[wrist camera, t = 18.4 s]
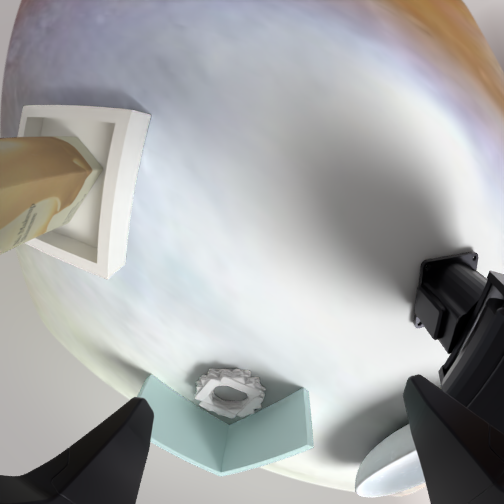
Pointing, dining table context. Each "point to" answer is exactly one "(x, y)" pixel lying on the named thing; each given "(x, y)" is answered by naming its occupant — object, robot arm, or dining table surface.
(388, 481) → the serving bowl
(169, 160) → the dining table surface
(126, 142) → the holder tray
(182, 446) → the right angle wall
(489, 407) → the robot arm
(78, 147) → the skincare box
